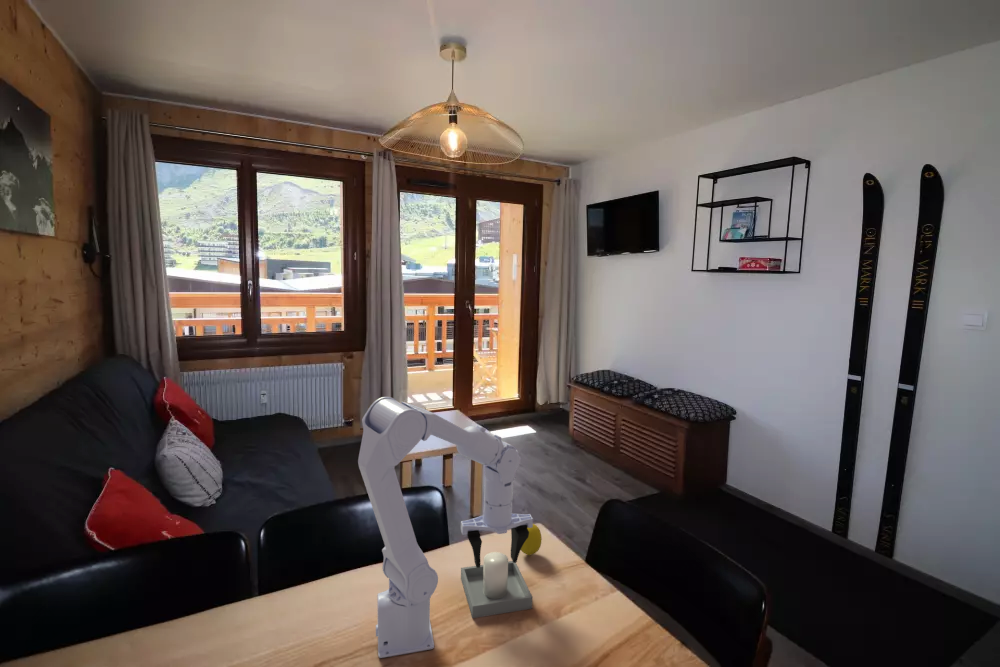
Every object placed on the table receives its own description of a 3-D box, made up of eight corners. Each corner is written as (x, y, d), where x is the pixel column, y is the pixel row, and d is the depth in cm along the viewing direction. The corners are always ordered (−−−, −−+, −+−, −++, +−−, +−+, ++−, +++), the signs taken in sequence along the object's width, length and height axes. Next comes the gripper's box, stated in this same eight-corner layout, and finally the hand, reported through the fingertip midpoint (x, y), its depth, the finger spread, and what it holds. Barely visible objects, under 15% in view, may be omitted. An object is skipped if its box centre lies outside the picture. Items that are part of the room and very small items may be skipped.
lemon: (543, 561, 112) (545, 528, 111) (520, 563, 111) (521, 530, 109) (536, 547, 117) (538, 516, 116) (514, 549, 116) (515, 517, 115)
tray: (472, 618, 93) (472, 606, 93) (460, 578, 105) (461, 567, 104) (531, 608, 96) (532, 597, 96) (514, 571, 108) (514, 560, 107)
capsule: (486, 601, 97) (487, 568, 96) (480, 585, 102) (480, 554, 101) (510, 596, 99) (511, 564, 98) (502, 580, 103) (503, 550, 102)
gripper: (466, 512, 92) (464, 579, 94) (539, 505, 95) (535, 569, 97) (459, 495, 98) (457, 557, 100) (527, 489, 102) (525, 549, 104)
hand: (495, 562), depth 99 cm, fingers open, 7 cm apart
